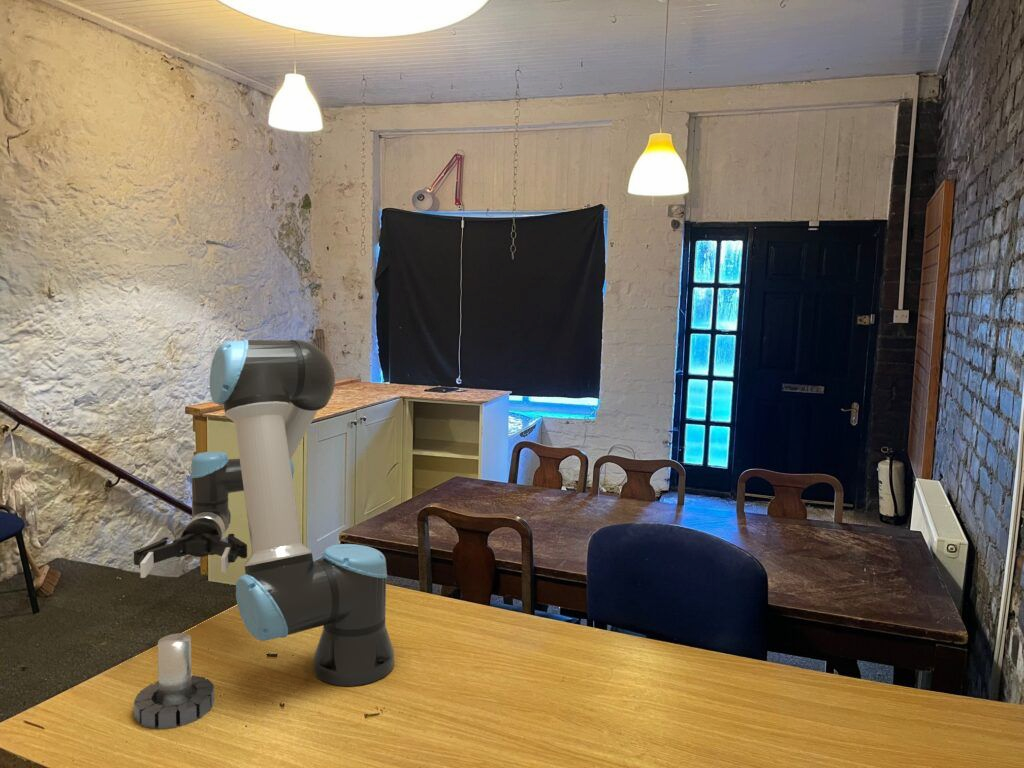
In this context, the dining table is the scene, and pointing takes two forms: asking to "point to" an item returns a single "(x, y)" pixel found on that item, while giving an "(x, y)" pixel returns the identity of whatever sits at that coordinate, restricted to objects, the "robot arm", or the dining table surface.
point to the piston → (174, 669)
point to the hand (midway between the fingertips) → (183, 567)
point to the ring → (172, 715)
